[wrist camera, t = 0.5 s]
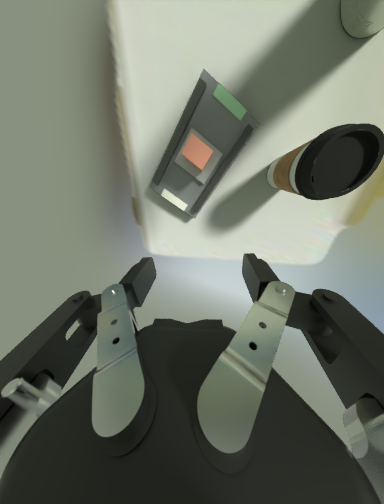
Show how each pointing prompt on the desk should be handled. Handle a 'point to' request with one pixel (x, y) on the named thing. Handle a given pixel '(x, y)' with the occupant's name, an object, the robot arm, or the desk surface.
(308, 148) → the coffee cup
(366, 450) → the robot arm
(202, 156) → the handle
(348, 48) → the desk surface
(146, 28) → the desk surface
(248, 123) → the switch box
